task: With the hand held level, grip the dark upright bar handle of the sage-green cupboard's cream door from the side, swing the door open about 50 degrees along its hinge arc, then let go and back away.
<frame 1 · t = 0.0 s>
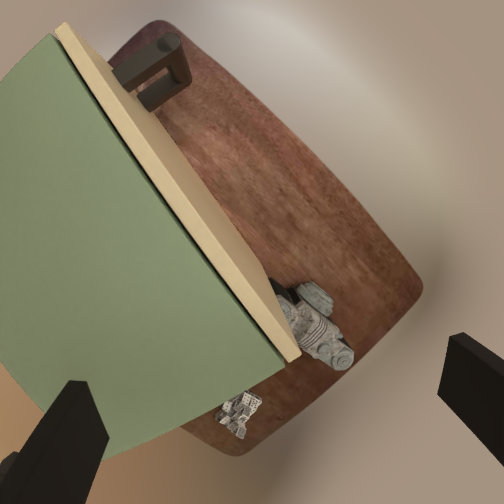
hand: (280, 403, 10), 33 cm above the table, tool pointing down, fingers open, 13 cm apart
house of cards: (229, 395, 47), on the table
cupboard door: (215, 162, 28), point 12 cm above the table, hinge at 0.0°
cupboard: (139, 228, 41), on the table
camera: (304, 304, 45), on the table
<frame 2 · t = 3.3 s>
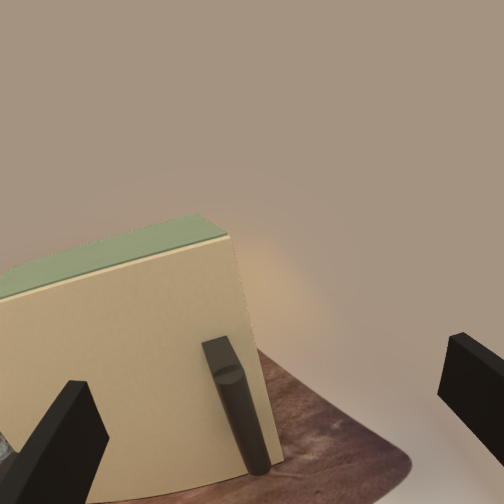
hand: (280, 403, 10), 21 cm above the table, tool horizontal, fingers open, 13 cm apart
cupboard door: (112, 437, 20), point 12 cm above the table, hinge at 0.0°
cupboard: (159, 435, 35), on the table
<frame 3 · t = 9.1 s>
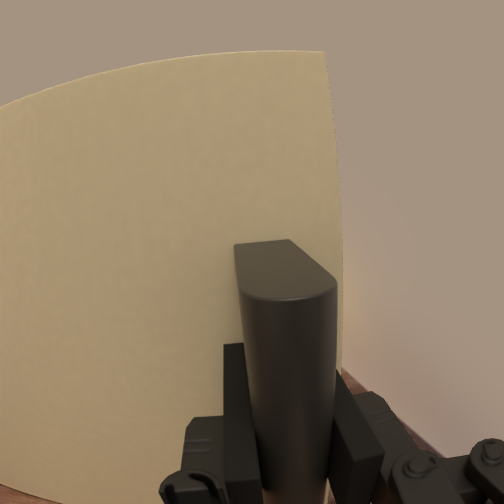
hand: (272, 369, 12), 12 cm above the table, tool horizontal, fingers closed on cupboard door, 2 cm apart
cupboard door: (23, 400, 9), point 12 cm above the table, hinge at 0.0°, touching gripper
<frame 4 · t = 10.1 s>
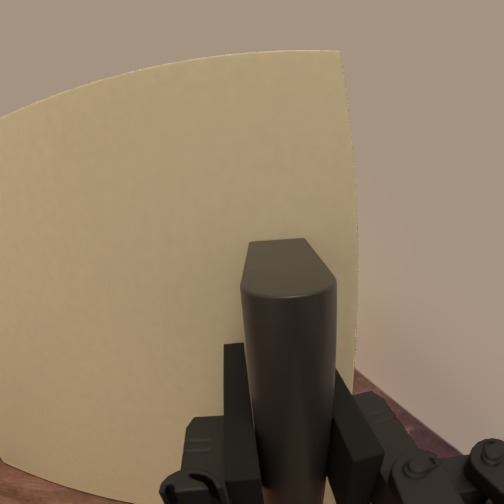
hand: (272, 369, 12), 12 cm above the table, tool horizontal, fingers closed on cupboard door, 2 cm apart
cupboard door: (40, 386, 11), point 12 cm above the table, hinge at 6.9°, touching gripper
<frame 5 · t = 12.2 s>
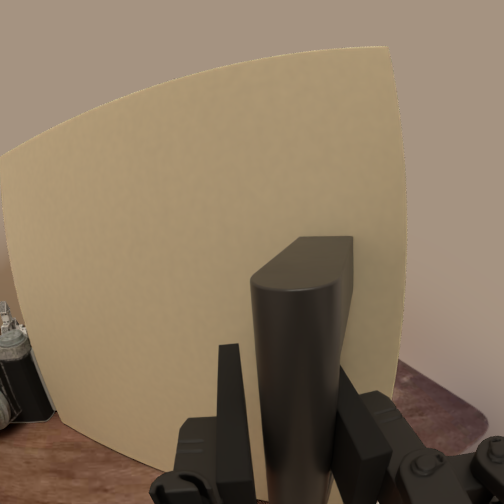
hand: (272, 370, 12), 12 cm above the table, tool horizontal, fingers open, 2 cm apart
house of cards: (26, 350, 38), on the table
cupboard door: (99, 352, 14), point 12 cm above the table, hinge at 25.8°, touching gripper
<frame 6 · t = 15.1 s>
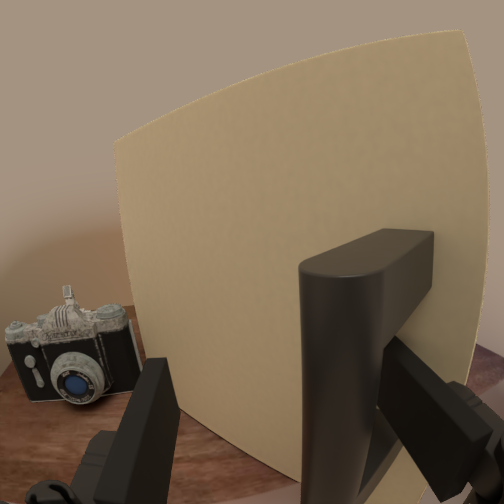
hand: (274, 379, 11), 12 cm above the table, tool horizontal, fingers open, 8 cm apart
house of cards: (90, 333, 45), on the table
cupboard door: (190, 323, 17), point 12 cm above the table, hinge at 47.9°
camera: (82, 398, 28), on the table
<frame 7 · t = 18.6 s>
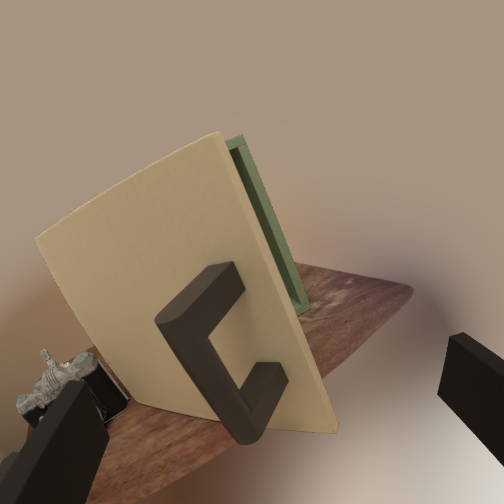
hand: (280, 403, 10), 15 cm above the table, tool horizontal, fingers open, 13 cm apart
house of cards: (75, 380, 49), on the table
cupboard door: (134, 349, 24), point 12 cm above the table, hinge at 45.8°
cupboard: (211, 328, 49), on the table
camera: (91, 431, 34), on the table
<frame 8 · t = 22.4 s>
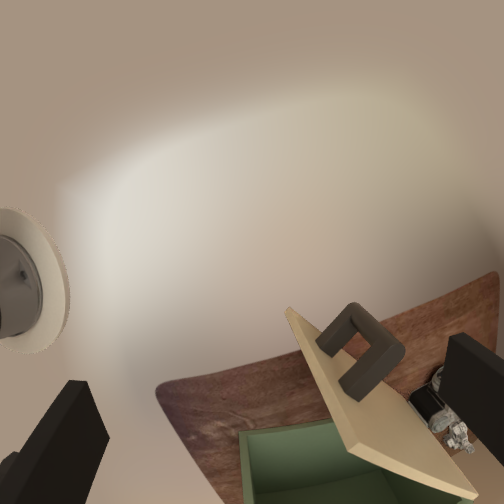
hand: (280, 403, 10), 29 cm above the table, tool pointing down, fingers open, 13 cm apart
house of cards: (445, 433, 49), on the table
cupboard door: (407, 393, 30), point 12 cm above the table, hinge at 45.8°
cupboard: (321, 455, 46), on the table
camera: (441, 374, 45), on the table
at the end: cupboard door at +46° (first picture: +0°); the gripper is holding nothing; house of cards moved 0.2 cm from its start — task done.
